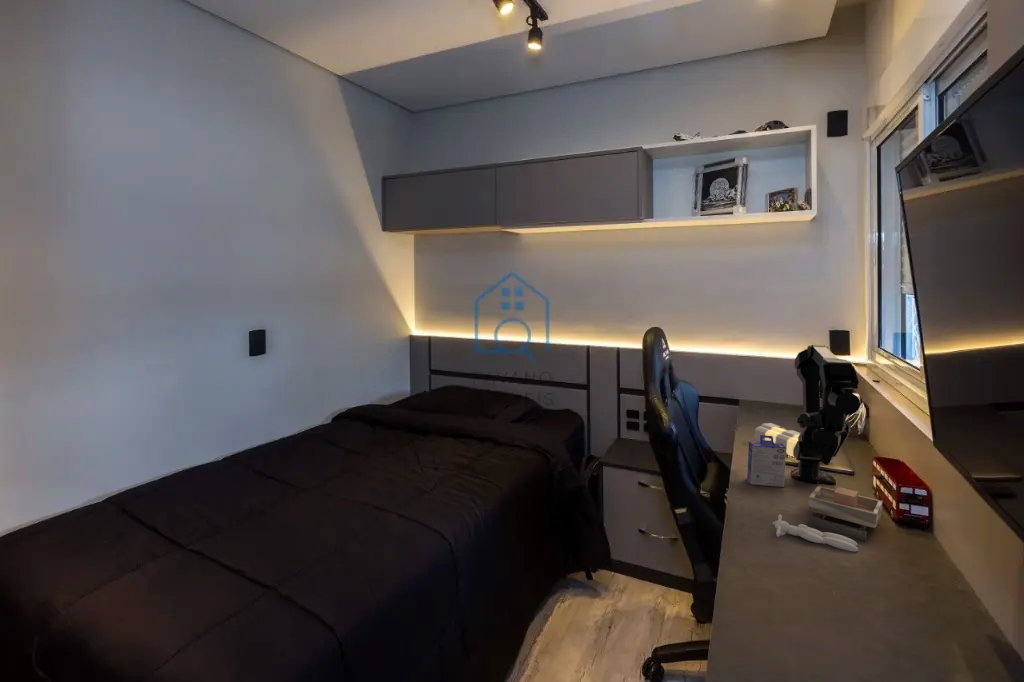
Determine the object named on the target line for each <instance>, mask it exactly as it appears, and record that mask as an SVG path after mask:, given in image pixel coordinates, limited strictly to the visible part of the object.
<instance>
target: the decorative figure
mask: <svg viewBox="0 0 1024 682" xmlns="http://www.w3.org/2000/svg"><path fill="white" fill-rule="evenodd" d="M777 517H778V518H777V520H775V521H773V522H772V525H774V527H775V529H776V532H775V533H776V534H775V535H776V537H779V538H780V537H781V536H786V533H788V534H790V535H792V536H797V537H801V538H802V539H804V540H806V541H809V542H813V543H817V544H822V545H826V544H828V545H830V546H832V547H834V548H837V549H840V550H843V551H848V552H859V547H857V546H858V543H857V542H856V541H855V540H854V539H853V538H850V537H847V536H843V535H840V534H836V533H833V532H829V531H824V532H822V531H820V530H818V529H817V528H815V527H811V526H808V525H805V524H801V523H800V524H798V525H797V526H796V525H792V524H790V523H788V522H787V520H782V519H783V514H778V516H777Z"/></svg>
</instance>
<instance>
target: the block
mask: <svg viewBox="0 0 1024 682" xmlns="http://www.w3.org/2000/svg"><path fill="white" fill-rule="evenodd" d="M834 490H835V492H834V501H833V503H837V504H841V505H845V506H849V507H853V508H857V499H858V495H859V491H857V490H852V489H849V488H844V487H841V486H838V487H837V488H836V489H834Z"/></svg>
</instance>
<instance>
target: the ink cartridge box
mask: <svg viewBox="0 0 1024 682" xmlns="http://www.w3.org/2000/svg"><path fill="white" fill-rule="evenodd" d="M763 438H769V439H771V441H768V440H762V439H763ZM747 450H748V453H747V454H748V455H747V473H746V474H747V475H746V480H747V482H748V483H749V484H750V485H757V486H769V487H778V488H779V487H781V488H783V487H785V472H786V459H787V456H786V447H785V446H784V445H783V444H782V443H774V442H773V436H765V435H760V442H756V441H748V449H747Z"/></svg>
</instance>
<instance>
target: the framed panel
mask: <svg viewBox="0 0 1024 682" xmlns="http://www.w3.org/2000/svg"><path fill="white" fill-rule="evenodd" d="M826 517H827V515H824V516H823V518H821V517H819V516H818V517H816V516H813V515H812V516H810V517H809V519H808V527H811V528H814V529H819V530H823V531H825V532H829V533H834V534H838V535H842V536H845V537H847V538H850V539H853V540H858V541H861V542H866V541H867V534H868V531H866V529H867V527H868V526H865V527H864V529H862V528H860V527H859V528H856V527H853V526H852V527H851V526H848V525H846V524H842V523H838V522H835V521H830V520H826V519H825V518H826Z"/></svg>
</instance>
